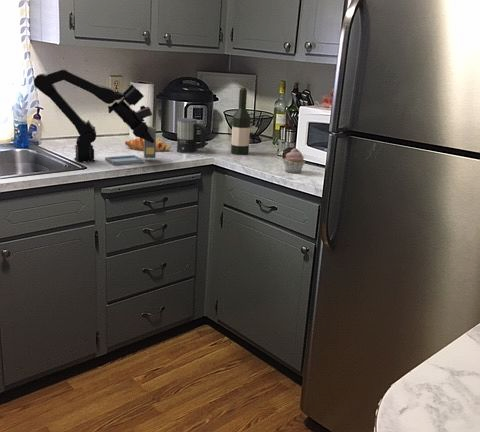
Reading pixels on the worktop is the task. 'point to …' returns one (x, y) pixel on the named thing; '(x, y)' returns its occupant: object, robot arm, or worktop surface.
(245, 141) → the wine bottle
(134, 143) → the croissant
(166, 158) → the worktop surface
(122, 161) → the tray
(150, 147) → the caddy
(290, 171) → the cupcake
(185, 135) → the milk frother
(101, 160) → the worktop surface
